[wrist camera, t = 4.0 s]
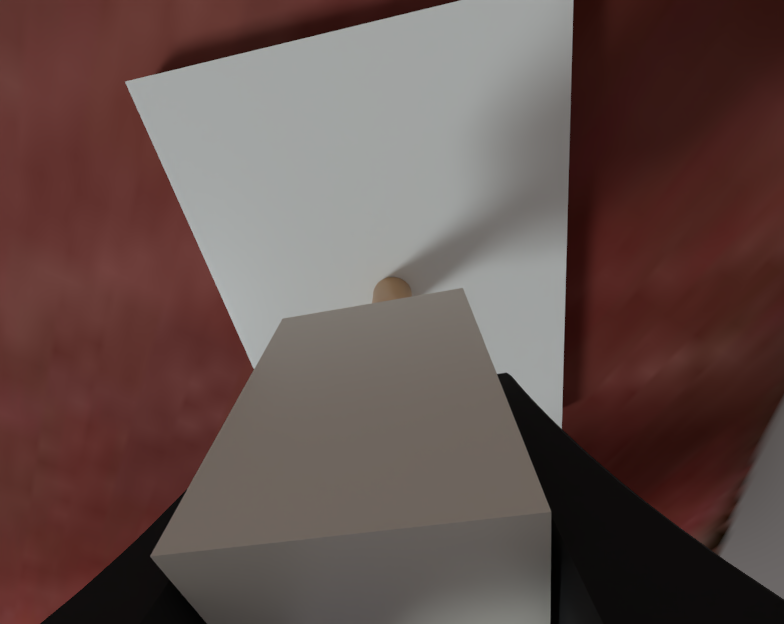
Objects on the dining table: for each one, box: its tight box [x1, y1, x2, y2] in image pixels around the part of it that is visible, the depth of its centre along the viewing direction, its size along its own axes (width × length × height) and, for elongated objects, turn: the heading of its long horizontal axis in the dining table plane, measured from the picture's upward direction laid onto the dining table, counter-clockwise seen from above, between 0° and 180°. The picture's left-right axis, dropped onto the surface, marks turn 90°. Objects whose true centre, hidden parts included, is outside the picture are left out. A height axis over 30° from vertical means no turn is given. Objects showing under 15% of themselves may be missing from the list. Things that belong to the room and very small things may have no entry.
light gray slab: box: [125, 0, 574, 429], centre depth 14 cm, size 18×14×6 cm
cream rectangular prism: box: [150, 288, 551, 624], centre depth 8 cm, size 5×5×6 cm
